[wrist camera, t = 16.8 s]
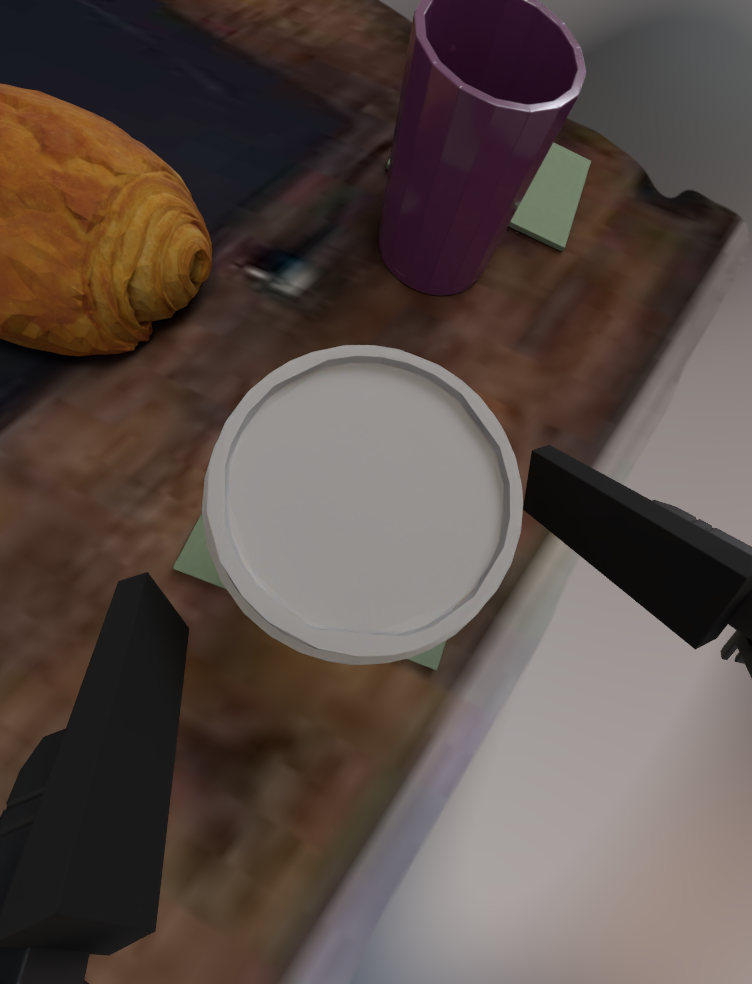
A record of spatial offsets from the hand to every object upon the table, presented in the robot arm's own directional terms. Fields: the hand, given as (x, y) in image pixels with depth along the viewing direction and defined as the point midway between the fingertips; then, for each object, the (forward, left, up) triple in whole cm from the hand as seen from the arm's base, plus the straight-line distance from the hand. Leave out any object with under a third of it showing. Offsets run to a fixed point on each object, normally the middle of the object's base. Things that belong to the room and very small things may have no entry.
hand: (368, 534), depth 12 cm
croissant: (-23, +10, -10) cm, 27 cm away
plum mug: (-4, +25, -10) cm, 27 cm away
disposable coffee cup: (0, +1, -9) cm, 9 cm away
